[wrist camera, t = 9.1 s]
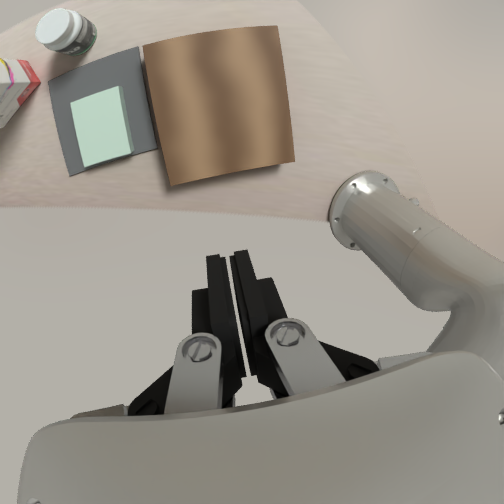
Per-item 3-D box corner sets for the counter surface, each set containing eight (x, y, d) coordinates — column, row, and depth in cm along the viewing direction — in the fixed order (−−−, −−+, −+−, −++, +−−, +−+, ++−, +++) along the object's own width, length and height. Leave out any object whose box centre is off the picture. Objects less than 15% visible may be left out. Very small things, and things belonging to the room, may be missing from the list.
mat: (138, 47, 24) (137, 46, 24) (157, 147, 31) (157, 148, 31) (49, 81, 23) (48, 81, 23) (70, 175, 30) (69, 176, 29)
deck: (267, 33, 26) (277, 25, 23) (284, 155, 35) (295, 161, 31) (148, 51, 25) (142, 45, 21) (172, 176, 33) (170, 186, 30)
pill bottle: (57, 53, 22) (24, 45, 14) (73, 19, 20) (45, 3, 13) (87, 59, 23) (59, 49, 16) (104, 24, 21) (81, 6, 14)
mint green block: (70, 102, 24) (76, 102, 25) (84, 167, 28) (89, 163, 29) (118, 85, 24) (122, 86, 26) (130, 153, 28) (134, 150, 30)
